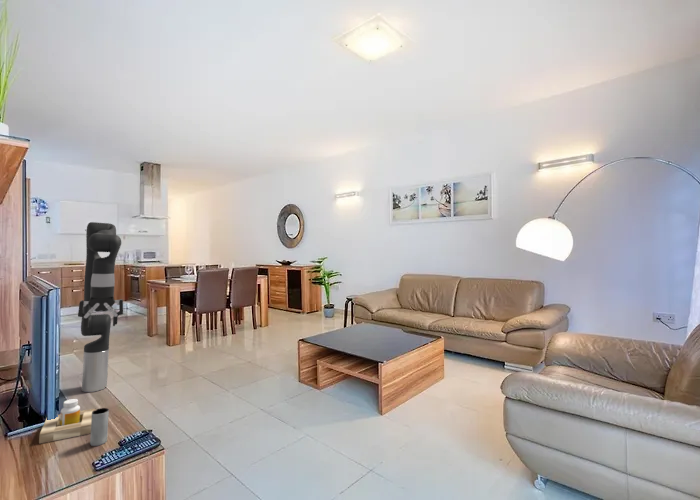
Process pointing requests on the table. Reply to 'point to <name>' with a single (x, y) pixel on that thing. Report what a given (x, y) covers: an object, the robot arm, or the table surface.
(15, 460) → the table surface
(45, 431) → the holder
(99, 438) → the planter
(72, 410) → the supplement bottle
